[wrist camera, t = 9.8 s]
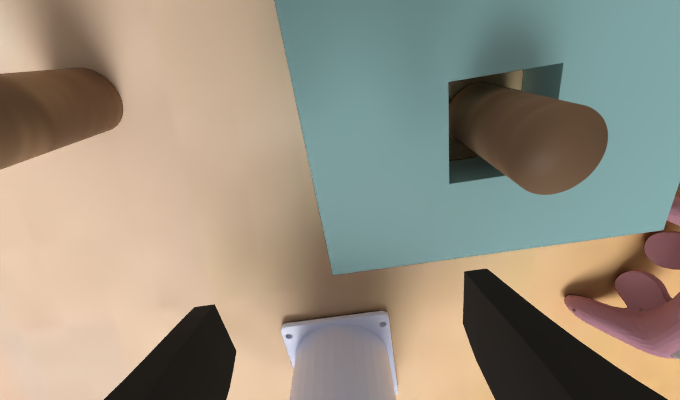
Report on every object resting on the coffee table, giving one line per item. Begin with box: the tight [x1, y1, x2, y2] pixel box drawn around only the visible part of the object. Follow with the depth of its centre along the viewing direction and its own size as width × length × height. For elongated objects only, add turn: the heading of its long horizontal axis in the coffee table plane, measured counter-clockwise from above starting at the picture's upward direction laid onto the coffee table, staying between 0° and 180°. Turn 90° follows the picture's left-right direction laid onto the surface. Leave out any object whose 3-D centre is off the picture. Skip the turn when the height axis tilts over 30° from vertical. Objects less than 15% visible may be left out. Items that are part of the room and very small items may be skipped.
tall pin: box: [0, 68, 123, 169], centre depth 12 cm, size 3×3×9 cm
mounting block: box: [274, 0, 680, 275], centre depth 16 cm, size 14×18×3 cm
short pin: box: [449, 83, 608, 195], centre depth 14 cm, size 3×3×7 cm
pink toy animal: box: [564, 196, 680, 359], centre depth 19 cm, size 10×5×7 cm, turn 166°
